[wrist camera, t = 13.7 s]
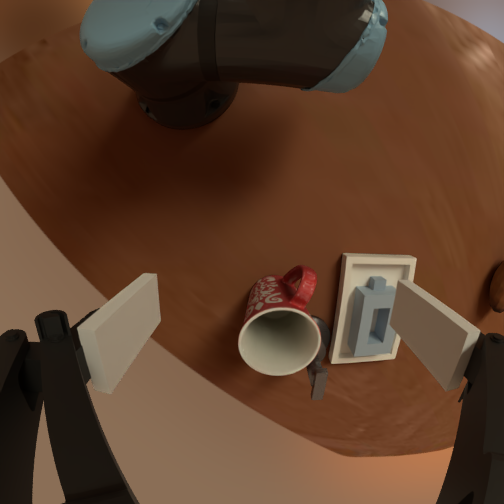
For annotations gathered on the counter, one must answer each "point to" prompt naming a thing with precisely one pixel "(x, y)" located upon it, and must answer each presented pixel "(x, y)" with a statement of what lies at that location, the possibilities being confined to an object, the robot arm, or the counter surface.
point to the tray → (354, 274)
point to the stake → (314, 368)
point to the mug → (280, 324)
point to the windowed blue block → (362, 314)
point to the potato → (497, 290)
